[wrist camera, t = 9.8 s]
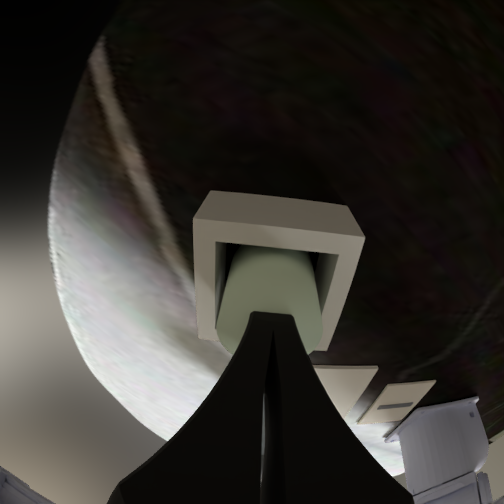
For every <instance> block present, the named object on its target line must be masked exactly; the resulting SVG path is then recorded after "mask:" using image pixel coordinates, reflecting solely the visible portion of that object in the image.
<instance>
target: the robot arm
mask: <svg viewBox="0 0 504 504" xmlns="http://www.w3.org/2000/svg"><path fill="white" fill-rule="evenodd" d="M263 397H264V417H265V448H264V460H263V471H262V481H261V453H262V423H263ZM478 400H479V397H478V396H476V397H472V398H468V399H463V400H459V401H454V402H449V403H444V404H438V405H433V406H427V407H420V408H417V409H416V410H414V412H413V413H412V414H411V415H410V416H409V417H408V418H407V419H406V420H405V421H404V422H403V423H402V424H401V425H400V426H399V427H397V428H396V429H395V430H394V431H393V432H392V433H391V434H390V435H389V436H388V437H387V438H386V439H385V443H389V442H396V441H400V445H401V451H402V456H403V462H404V468H405V474H406V481H407V488H408V491H407V490H406V489H405V488H404V487H403V486H402V485H400V484H399V483H398V482H397V481H396V480H395V479H394V478H393V477H392V476H391V475H390V474H389V473H388V472H387V471H386V470H385V469H384V468H383V467H382V466H381V465H380V464H379V463H378V462H377V461H376V460H375V459H374V458H373V456H372V455H371V454H370V453H369V452H368V450H367V449H366V448H365V447H364V446H363V444H362V443H361V442H360V441H359V439H358V438H357V437H356V436H355V435H354V433H353V432H352V430H351V429H350V428H349V426H348V425H347V424H346V422H345V421H344V419H343V418H342V416H341V415H340V413H339V412H338V410H337V409H336V407H335V406H334V404H333V402H332V401H331V399H330V397H329V395H328V394H327V392H326V390H325V388H324V387H323V385H322V383H321V381H320V379H319V377H318V375H317V373H316V371H315V369H314V367H313V365H312V363H311V361H310V358H309V356H308V354H307V352H306V349H305V347H304V345H303V342H302V340H301V337H300V334H299V332H298V329H297V326H296V323H295V319H294V317H293V316H292V315H291V314H280V313H269V312H259V311H253V312H251V313H250V316H249V320H248V324H247V327H246V329H245V332H244V334H243V337H242V339H241V341H240V343H239V345H238V347H237V349H236V351H235V353H234V355H233V357H232V359H231V360H230V362H229V364H228V366H227V367H226V369H225V370H224V372H223V374H222V375H221V377H220V378H219V380H218V382H217V383H216V385H215V386H214V387H213V389H212V390H211V392H210V393H209V395H208V396H207V397H206V399H205V400H204V401H203V402H202V404H201V405H200V406H199V408H198V409H197V410H196V411H195V412H194V414H193V415H192V416H191V417H190V418H189V419H188V421H187V422H186V423H185V424H184V425H183V426H182V427H181V428H180V430H179V431H178V432H177V433H176V434H175V435H174V436H173V437H172V438H171V439H170V440H169V441H168V442H167V443H166V444H164V446H162V447H161V448H160V449H159V450H158V451H157V452H156V453H155V454H154V455H153V456H152V457H151V458H149V459H148V460H147V461H146V462H145V463H143V464H142V465H141V466H139V467H138V468H137V469H136V470H134V471H133V472H132V473H130V474H129V475H128V476H127V477H125V478H124V479H122V480H121V481H120V482H119V483H118V485H117V486H116V488H115V490H114V491H113V492H112V494H111V496H110V498H109V500H108V502H107V504H504V496H502V497H500V498H498V499H496V500H494V501H492V495H491V490H490V485H489V480H488V476H487V474H486V473H483V472H480V473H478V474H477V476H476V472H477V471H478V470H479V469H480V468H481V467H482V466H483V464H484V463H485V461H486V459H487V456H488V450H489V449H488V448H489V445H488V440H487V436H486V433H485V430H484V427H483V424H482V421H481V418H480V415H479V413H478V410H477V407H476V404H475V403H476V402H477V401H478ZM477 477H478V481H477ZM0 504H55V503H53V502H52V501H50V500H49V499H47V498H45V497H43V496H42V495H40V494H39V493H37V492H35V491H34V490H32V489H31V488H30V487H29V485H27V484H26V483H24V482H23V481H22V480H20V479H19V478H17V477H16V476H15V475H13V474H12V473H10V472H9V471H7V470H6V469H4V468H3V467H1V466H0Z"/></svg>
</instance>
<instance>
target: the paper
mask: <svg viewBox="0 0 504 504" xmlns="http://www.w3.org/2000/svg"><path fill="white" fill-rule="evenodd" d="M313 367H314V369H315V371H316V373H317V375H318V377H319V379H320V381H321V383H322V385H323V387H324V388H325V390H326V392H327V394H328V395H329V397H330V399H331V401H332V402H333V404H334V406H335V407H336V409H337V410H338V412H339V413H340V415H341V416H342V418H343V419H344V418H345V417H346V415H347V414H348V413H349V411H350V410H351V409H352V407H353V406H354V405H355V403H356V402H357V400H358V399H359V397H360V396H361V395H362V393H363V392H364V390H365V389H366V387H367V386H368V384H369V383H370V381H371V380H372V378H373V377H374V375H375V373H376V372H377V370H378V366H333V365H313Z"/></svg>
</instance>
